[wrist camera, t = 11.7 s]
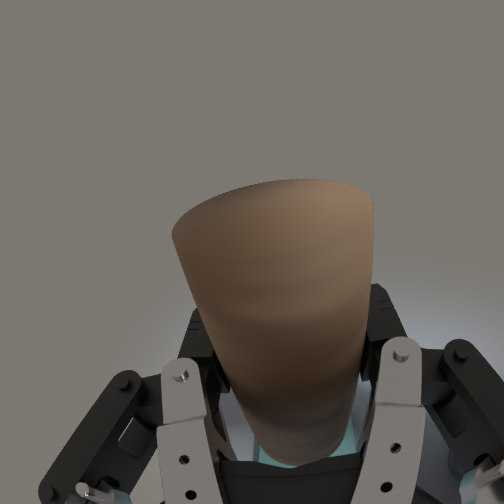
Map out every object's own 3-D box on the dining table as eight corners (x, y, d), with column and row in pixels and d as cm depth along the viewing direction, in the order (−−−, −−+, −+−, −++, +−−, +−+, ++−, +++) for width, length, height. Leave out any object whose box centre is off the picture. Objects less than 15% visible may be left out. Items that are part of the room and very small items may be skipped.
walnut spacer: (339, 386, 14) (341, 172, 8) (351, 458, 10) (411, 236, 4) (258, 395, 14) (197, 194, 9) (255, 468, 10) (140, 275, 5)
